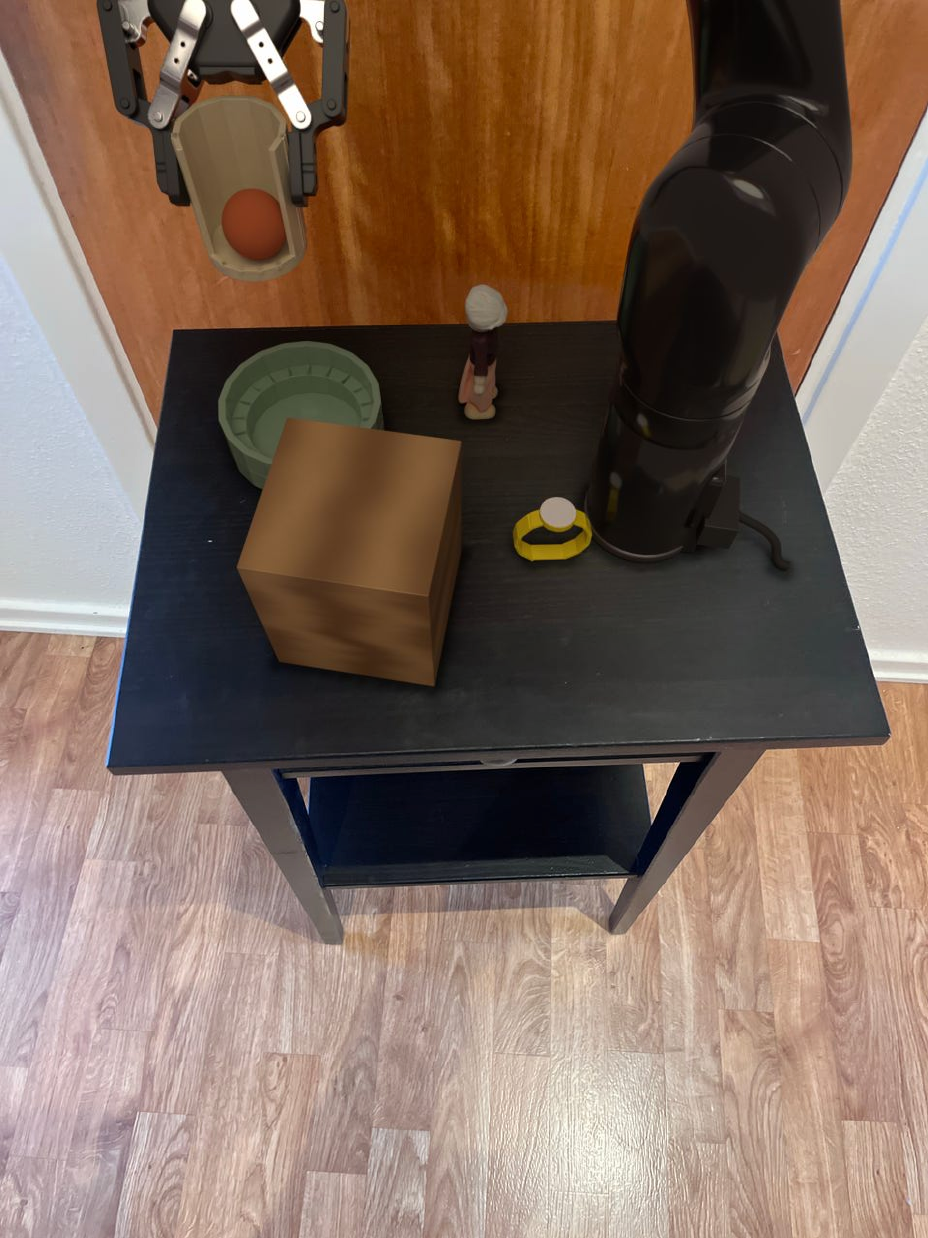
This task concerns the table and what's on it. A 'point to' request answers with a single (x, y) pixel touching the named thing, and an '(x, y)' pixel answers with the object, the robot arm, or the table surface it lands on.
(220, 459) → the table surface
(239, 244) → the ball
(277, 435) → the bowl
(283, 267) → the cup
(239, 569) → the stand
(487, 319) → the grandmother figurine
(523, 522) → the watch
